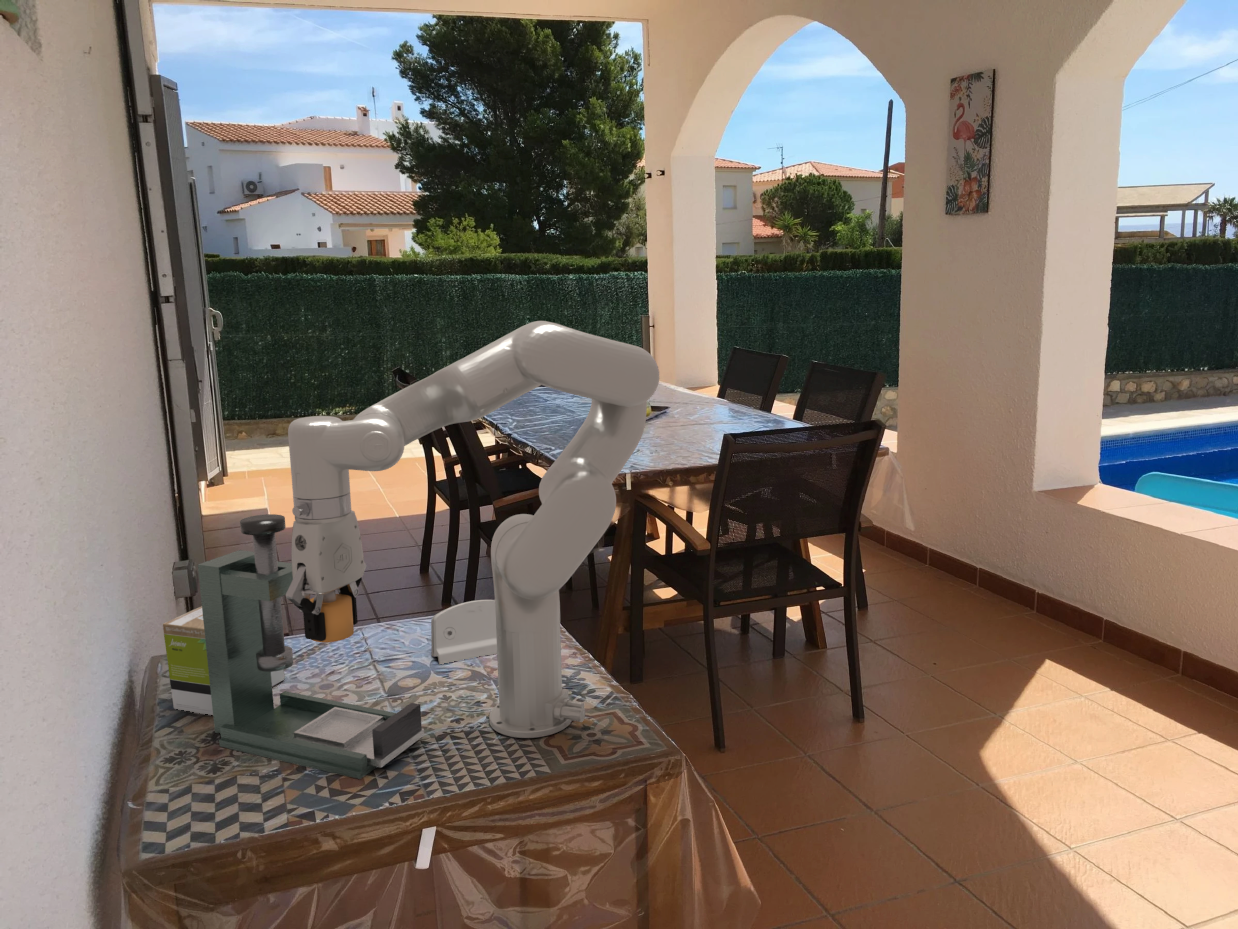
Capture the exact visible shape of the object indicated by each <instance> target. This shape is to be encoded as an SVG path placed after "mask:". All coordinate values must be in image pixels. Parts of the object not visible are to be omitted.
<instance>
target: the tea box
mask: <svg viewBox="0 0 1238 929" xmlns="http://www.w3.org/2000/svg"><path fill="white" fill-rule="evenodd" d="M162 629H163V636H164V645H165V651H166V660H167V668H168V674H169V685H170V691H171V697H172V704H173V709H174V710H176V709H178V710H177V711H181V710H184V711H183V712H186V711H190V712H189V713H192V712H194V713H193V714H199V713H200V714H199V715H205V714H208V715H207V716H211V715H213V709H212V699H211V690H210V680H209V670H208V660H207V651H206V641H205V631H204V621H203V612H202V605H200V606H199V607H197V608H194V609H192V610H190V611H188V612H186V613H184V614H182V615H179V616H177V617H175V618H172V619H170V620H168V621H166V622H164V623H162ZM285 677H286V676H285V669H283V670H280V671H273V672H271V680H272V687H274V686H276V685H277V684H279V683H280V682H282V681H284V680H285V679H286V678H285Z"/></svg>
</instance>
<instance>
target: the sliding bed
mask: <svg viewBox="0 0 1238 929" xmlns="http://www.w3.org/2000/svg"><path fill="white" fill-rule="evenodd" d="M421 708H422V707H421V704H419V703H416V702H411V703H409V704H407V705H406V706H404V707H403V708H401V709H400V710H399V711H397V712H395V713H396V714H394V715H393V716H391V717H390V718H388V719H387V720H386V721H384V720H383V716H378V715H373V714H368V713H363V712H358V711H353V710H348V709H343V708H338V707H334V708H332V709H331V710H329V711H328V712H326V713H324V714H323V715H321V716H319V717H318V718H316V719H315V720H313V721H311V722H310V723H308V724H306V725H305V726H303V727H302V728H300V729H298V730H297V731H295V732H294V739H298V740H303V741H307V742H312V743H316V744H321V745H325V746H330V747H334V748H339V749H343V750H348V751H352V752H357V753H361V754H366V755H367V764H368V765H372V766H377V767H376V768H383V767H385V765H386V764H388V763H390V762H391V761H392V760H394V758H396V757H398V756H399V755H400V754H402V753H403V752H405V751H406V750H407V749H408V748H410V746H412V745H413V744H414V743H416V742H417V741H418V740H420V739H421V738H423V737H424V736H425V729H424V728H423V727H422V714H421V713H422V711H421V710H422V709H421Z"/></svg>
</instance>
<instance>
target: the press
mask: <svg viewBox="0 0 1238 929" xmlns="http://www.w3.org/2000/svg"><path fill="white" fill-rule="evenodd" d="M277 562H278V571H277V572H274V573H272V574H269V575H263V574H256V567H255V556H254V551H251V550H250V551H249V550H244V549H243V550H241V549H239V550H236V551H235V550H234V551H233V552H230V553H227V554H224V555H221V556H219V557H216V558H212V559H210V560H207V561H203V562H202V563H199V564H197V571H198V580H199V581H198V582H199V591H200V592H199V593H200V600H201V602H200V603H201V606H202V612H203V621H204V631H205V641H206V651H207V660H208V670H209V680H210V690H211V699H212V709H213V716H212V717H213V726H214V733H215V734H219V733H220V734H219V735H220V739H219V740H218V743H219V744H218V745H219V747H220V748H225V749H230V750H233V751H237V752H242V753H247V754H250V755H255V756H259V757H264V758H269V759H271V760H276V761H280V762H285V763H289V764H293V765H297V766H298V765H299V766H302V767H307V768H309V769H310V768H311V769H315V770H319V771H323V772H328V773H332V774H336V775H340V776H344V777H348V778H353V779H358V780H362V779H363V778H364V777H366V776H367V775H369V773H371V772H373V771H374V770H375V769H376V768H378V767H377V766H372V765H368V764H367V755H366V754H361V753H357V752H352V751H348V750H343V749H339V748H334V747H330V746H325V745H321V744H316V743H312V742H307V741H303V740H298V739H294V732H295V731H297V730H298V729H300V728H302V727H303V726H305V725H306V724H308V723H310V722H311V721H313V720H315V719H316V718H318V717H319V716H321V715H323V714H324V713H326V712H328V711H329V710H331V709H332V708H334V707H338V708H343V709H348V710H353V711H358V712H363V713H368V714H373V715H378V716H383V720H384V721H386V720H387V719H388V718H390V717H391V716H393V715H394V714H396V713H397V712H394V711H388V710H383V709H378V708H373V707H367V706H362V705H358V704H352V703H347V702H342V701H337V700H333V699H332V700H331V699H327V698H322V697H316V696H311V695H306V694H302V693H298V692H297V693H296V692H292V691H287V690H285V691H283V692H280V693H279V705H278V706H276V707H275V705H274V704H275V703H274V693H273V686H272V680H271V672H264V671H260V670H258V668H257V659H256V653H257V652H258V651H260V650H262V649H263V644H262V633H261V622H260V611H259V600H264V601H272V600H275V599H277V598H279V597H284V596H286V593H287V591H288V589H289V587H290V585H291V583H292V580H293V576H292V562H284V561H278V560H277Z"/></svg>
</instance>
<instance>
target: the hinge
mask: <svg viewBox="0 0 1238 929" xmlns="http://www.w3.org/2000/svg"><path fill="white" fill-rule="evenodd" d="M430 624H431V625H430V630H431V632H430V633H431V634H430V635H431V638H430V639H431V642H430V643H431V657H437V659H438V664H439V665H440V664H442V665H445V664H444V663H448V664H450V663H449V662H453V663H455V662H454V661H458V662H460V661H459V660H463V659H468V660H470V659H469V658H473V659H475V658H474V657H478V658H480V657H479V656H483V657H486V656H485V655H489V656H492V655H493V654H494V655H497V638H496V613H495V599H479V600H471V601H470V600H469V601H466V602H461V603H458V604H455V605H452V606H450V607H448V608H446V609H443V610H441V611H439V612H438V613H436V614H434V615H433V616H432V618H431V622H430ZM463 661H464V660H463Z"/></svg>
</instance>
